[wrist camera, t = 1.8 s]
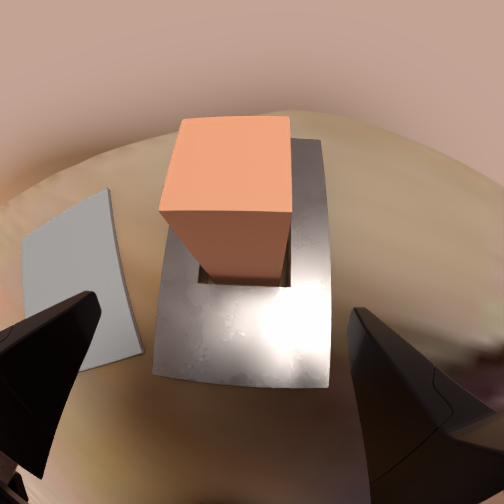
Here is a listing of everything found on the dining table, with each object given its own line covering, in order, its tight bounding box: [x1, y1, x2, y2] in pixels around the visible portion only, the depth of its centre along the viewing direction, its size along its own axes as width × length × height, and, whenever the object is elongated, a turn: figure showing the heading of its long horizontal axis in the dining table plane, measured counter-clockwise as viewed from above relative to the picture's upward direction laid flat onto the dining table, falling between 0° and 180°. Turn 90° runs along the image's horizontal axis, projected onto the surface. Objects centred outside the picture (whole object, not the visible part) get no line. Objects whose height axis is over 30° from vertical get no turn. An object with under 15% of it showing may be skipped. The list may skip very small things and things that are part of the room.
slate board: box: [22, 188, 145, 372], centre depth 22 cm, size 17×14×1 cm
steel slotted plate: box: [152, 138, 331, 388], centre depth 21 cm, size 20×12×3 cm, turn 177°
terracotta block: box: [158, 116, 292, 286], centre depth 16 cm, size 5×5×12 cm
